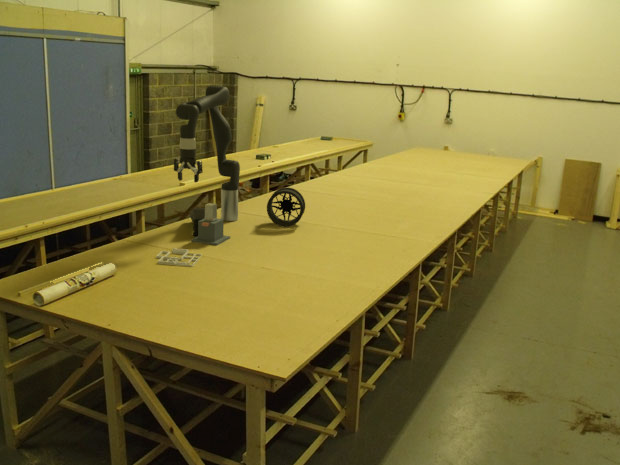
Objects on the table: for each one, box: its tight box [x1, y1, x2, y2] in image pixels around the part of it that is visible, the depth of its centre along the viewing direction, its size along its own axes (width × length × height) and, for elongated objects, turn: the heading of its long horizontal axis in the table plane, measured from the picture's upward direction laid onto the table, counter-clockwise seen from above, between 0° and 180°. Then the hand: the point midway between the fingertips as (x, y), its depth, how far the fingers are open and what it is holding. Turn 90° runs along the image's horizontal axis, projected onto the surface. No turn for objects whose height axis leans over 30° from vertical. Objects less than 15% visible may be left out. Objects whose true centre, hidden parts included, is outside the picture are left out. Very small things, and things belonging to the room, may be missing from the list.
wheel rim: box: [266, 186, 306, 228], centre depth 333 cm, size 20×9×20 cm, turn 84°
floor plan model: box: [155, 247, 203, 267], centre depth 273 cm, size 19×25×2 cm
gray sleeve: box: [190, 218, 231, 246], centre depth 301 cm, size 14×14×10 cm
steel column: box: [204, 202, 218, 222], centre depth 299 cm, size 4×4×16 cm
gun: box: [189, 207, 205, 237], centre depth 319 cm, size 7×29×15 cm, turn 14°
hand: (188, 181), depth 293 cm, fingers open, 8 cm apart
